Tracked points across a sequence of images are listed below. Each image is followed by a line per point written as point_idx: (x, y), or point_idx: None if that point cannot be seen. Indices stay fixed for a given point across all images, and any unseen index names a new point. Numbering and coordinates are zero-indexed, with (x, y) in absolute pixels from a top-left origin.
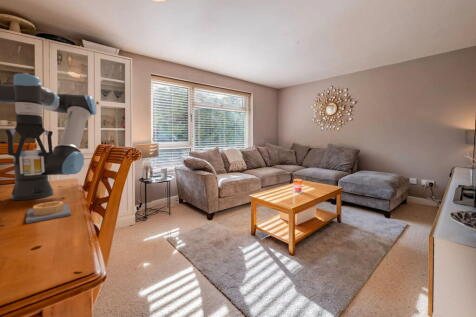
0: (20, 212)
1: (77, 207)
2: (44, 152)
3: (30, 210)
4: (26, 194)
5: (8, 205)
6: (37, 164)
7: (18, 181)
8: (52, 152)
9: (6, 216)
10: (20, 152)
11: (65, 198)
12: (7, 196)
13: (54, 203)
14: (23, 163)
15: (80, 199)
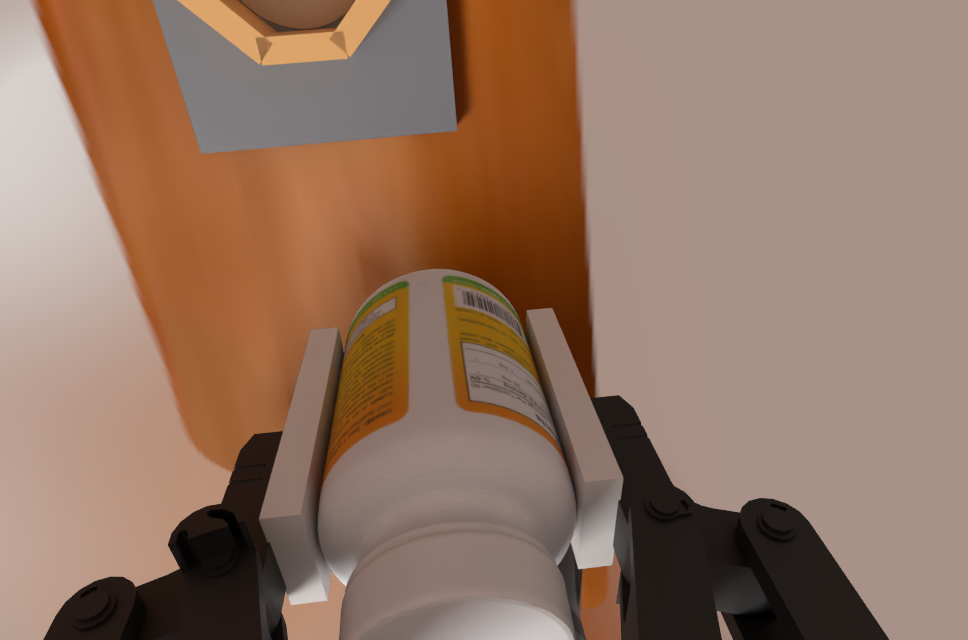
0: (501, 145)
1: (97, 21)
2: (211, 611)
3: (437, 75)
4: None
5: None
6: (365, 371)
7: None
8: (53, 631)
9: (568, 80)
10: (635, 570)
11: (281, 401)
12: (596, 584)
13: (255, 26)
14: (545, 405)
15: (156, 315)
